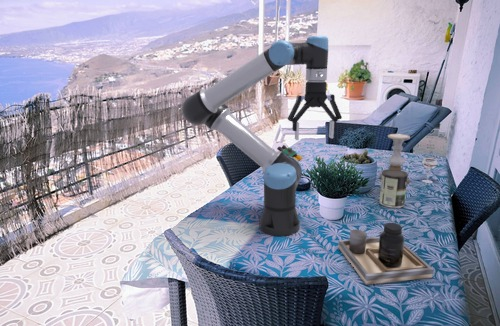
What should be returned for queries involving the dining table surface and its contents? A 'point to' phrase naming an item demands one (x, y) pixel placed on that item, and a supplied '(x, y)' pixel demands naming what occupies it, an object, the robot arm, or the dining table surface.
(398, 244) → the supplement bottle
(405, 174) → the coffee can
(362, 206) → the dining table surface
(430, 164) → the wineglass
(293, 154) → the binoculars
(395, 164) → the candle holder
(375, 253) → the board
